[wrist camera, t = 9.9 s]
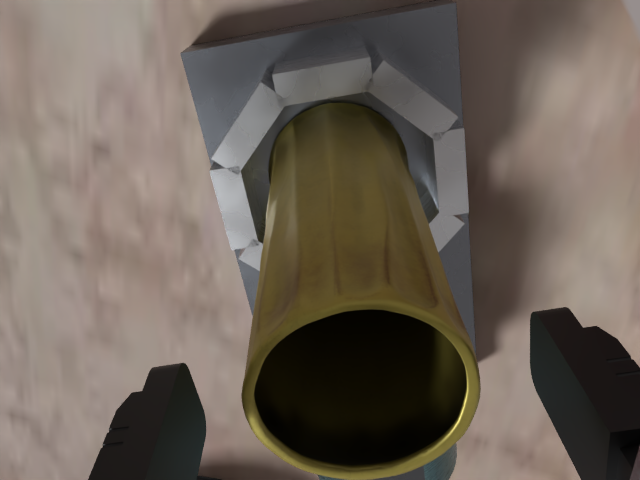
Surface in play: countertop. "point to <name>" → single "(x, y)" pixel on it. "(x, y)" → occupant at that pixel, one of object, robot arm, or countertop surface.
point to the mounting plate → (341, 87)
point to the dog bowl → (205, 478)
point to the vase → (353, 308)
